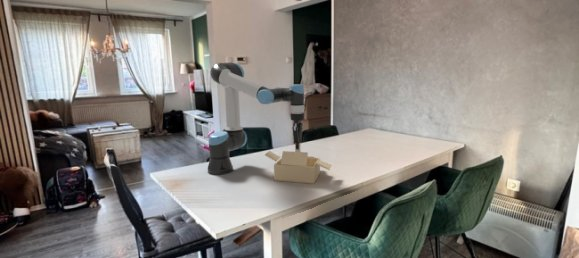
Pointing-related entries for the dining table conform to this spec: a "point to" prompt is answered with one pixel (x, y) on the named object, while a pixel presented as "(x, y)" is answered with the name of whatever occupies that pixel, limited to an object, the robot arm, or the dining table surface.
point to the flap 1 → (272, 156)
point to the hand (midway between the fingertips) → (297, 154)
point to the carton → (297, 172)
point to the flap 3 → (324, 164)
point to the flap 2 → (294, 158)
